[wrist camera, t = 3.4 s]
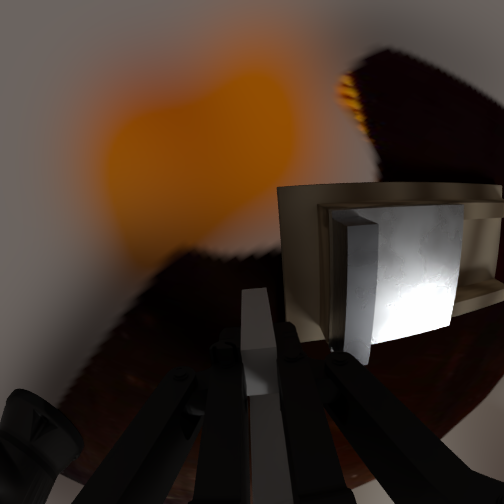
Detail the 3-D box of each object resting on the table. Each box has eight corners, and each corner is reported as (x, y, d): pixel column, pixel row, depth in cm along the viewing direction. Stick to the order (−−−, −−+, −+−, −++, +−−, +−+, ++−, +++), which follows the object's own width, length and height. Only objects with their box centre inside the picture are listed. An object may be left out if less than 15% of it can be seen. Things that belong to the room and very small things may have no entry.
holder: (286, 338, 27) (292, 363, 23) (276, 187, 23) (283, 189, 19) (484, 298, 27) (504, 310, 23) (496, 184, 23) (519, 188, 19)
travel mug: (234, 373, 28) (228, 562, 8) (290, 343, 27) (338, 543, 7) (267, 406, 29) (282, 570, 10) (318, 380, 28) (370, 547, 9)
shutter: (328, 346, 22) (341, 374, 18) (328, 209, 19) (347, 217, 15) (444, 321, 22) (466, 340, 18) (458, 203, 19) (487, 210, 15)
